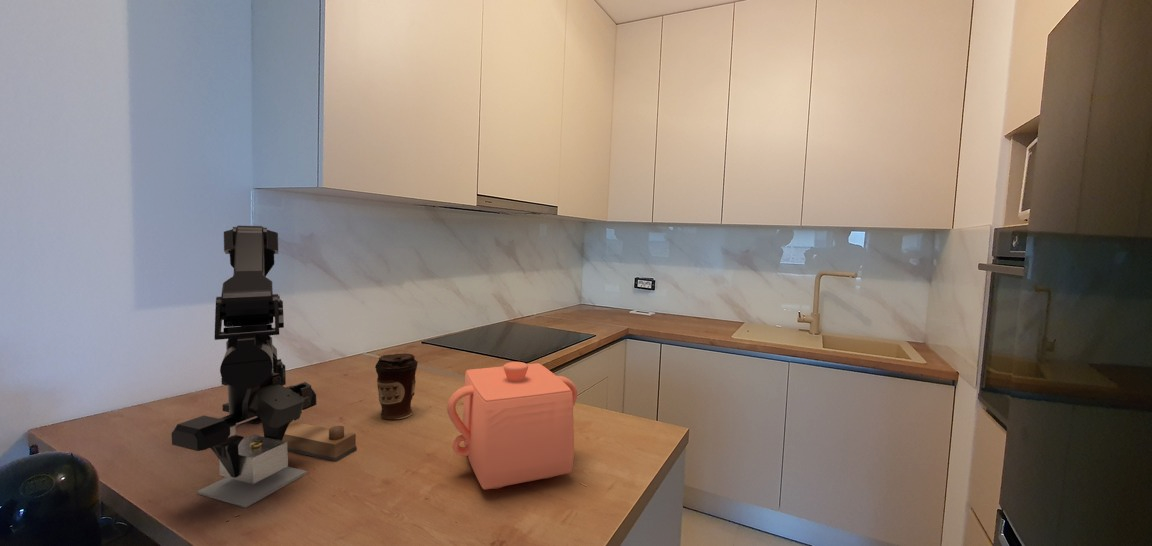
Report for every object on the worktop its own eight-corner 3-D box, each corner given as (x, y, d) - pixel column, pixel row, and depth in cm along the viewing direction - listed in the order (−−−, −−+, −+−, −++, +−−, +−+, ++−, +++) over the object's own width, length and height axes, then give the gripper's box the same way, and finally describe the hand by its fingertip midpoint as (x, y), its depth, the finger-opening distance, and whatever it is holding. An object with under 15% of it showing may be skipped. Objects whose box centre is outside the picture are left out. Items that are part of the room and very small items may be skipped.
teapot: (435, 437, 89) (435, 347, 87) (545, 421, 98) (547, 339, 96) (455, 508, 66) (455, 387, 65) (596, 479, 75) (599, 372, 73)
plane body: (265, 445, 84) (264, 421, 83) (288, 435, 88) (287, 412, 88) (336, 461, 78) (335, 435, 78) (356, 449, 83) (356, 425, 82)
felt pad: (197, 493, 68) (197, 491, 68) (261, 462, 78) (261, 460, 77) (245, 507, 65) (245, 504, 65) (307, 473, 74) (307, 471, 74)
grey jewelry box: (219, 475, 70) (218, 446, 69) (255, 458, 75) (254, 431, 74) (253, 483, 67) (252, 454, 67) (287, 466, 73) (287, 438, 72)
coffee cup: (402, 425, 94) (402, 363, 93) (366, 421, 96) (365, 360, 95) (424, 409, 102) (424, 352, 101) (391, 406, 104) (390, 350, 103)
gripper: (224, 396, 58) (229, 512, 60) (341, 359, 76) (342, 449, 77) (166, 385, 62) (171, 495, 63) (290, 352, 80) (293, 439, 81)
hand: (254, 467), depth 71 cm, fingers closed on grey jewelry box, 6 cm apart
